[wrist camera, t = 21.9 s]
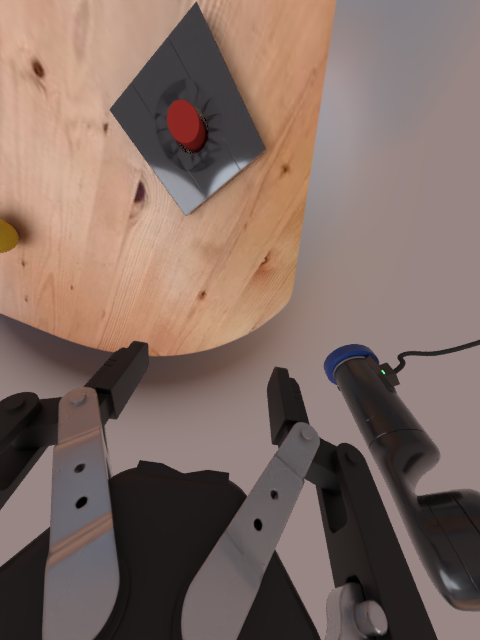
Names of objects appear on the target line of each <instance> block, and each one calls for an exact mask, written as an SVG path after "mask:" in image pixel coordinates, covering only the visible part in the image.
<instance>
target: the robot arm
mask: <svg viewBox="0 0 480 640" xmlns="http://www.w3.org/2000/svg"><path fill="white" fill-rule="evenodd" d="M477 345H480V340H478V341H475V342H471V343H468V344H465V345H461V346H458V347H454V348H450V349H445V350H441V351H433V352H420V351H409V352H403V353H401V354H399V355H398V360H399V361H400V364H399V365H398V366H397V367H396V368H395V369H394V370H393V369H392V368H391V367H390V366H389V364H388V363H384V364H382V365H379V366H378V365H377V364H376V363H375V362H374V360H373V359H372V358H371V356H370V355H369V354H366V355H353V356H349V357H346V358H344V359H342V360H340V361H339V362H338V363H337V364H336V365H335V366H334V368H333V371H332V374H333V377H334V379H335V381H336V383H337V385H338V386H339V387H338V386H337V387H338V389H339V390H340V391H341V393H342V395H343V397H344V399H345V401H346V403H347V405H348V407H349V409H350V411H351V413H352V415H353V417H354V419H355V422H356V423H357V426H358V428H359V430H360V432H361V434H362V436H363V438H364V440H365V442H366V444H367V446H368V448H369V450H370V452H371V454H372V456H373V458H374V460H375V462H376V464H377V466H378V468H379V470H380V472H381V474H382V476H383V478H384V480H385V482H386V484H387V487H388V489H389V491H390V493H391V495H392V498H393V500H394V502H395V504H396V506H397V509H398V511H399V513H400V516H401V518H402V520H403V523H404V525H405V527H406V530H407V532H408V534H409V537H410V539H411V541H412V543H413V546H414V548H415V550H416V552H417V554H418V556H419V559H420V560H421V563H422V565H423V566H424V568H425V570H426V572H427V574H428V576H429V578H430V579H431V581H432V583H433V584H434V586H435V587H436V589H437V590H438V592H439V593H440V594H441V596H442V597H443V598H444V599H445V600H446V601H447V602H448V603H449V604H450V605H451V606H452V607H454V608H455V609H458V610H462V611H480V492H477V491H476V490H472V489H457V490H450V491H447V492H446V491H444V492H438V493H432V494H426V495H422V496H417V495H416V494H415V488H416V485H417V483H418V482H419V480H420V479H421V478H422V476H423V475H425V474H426V473H427V472H428V471H430V470H431V469H432V468H433V467H435V466H436V464H437V463H438V462H439V460H440V452H439V449H438V448H437V446H436V445H435V443H434V442H433V441H432V439H431V438H430V437H429V435H428V434H427V433H426V432H425V430H424V429H423V428H422V426H421V425H420V424H419V423H418V421H417V420H416V418H415V417H414V416H413V415H412V413H411V412H410V411H409V409H408V408H407V407H406V405H405V404H404V403H403V402H402V400H401V399H400V397H399V396H398V395H397V392H396V390H395V388H394V386H396V385H399V384H400V383H399V381H398V378H397V375H396V374H397V373H398V372H399V371H401V370H402V369H403V368H404V366H405V360H404V359H403V357H405V356H409V355H419V356H436V355H442V354H447V353H452V352H456V351H460V350H464V349H467V348H470V347H473V346H477ZM148 364H149V354H148V343H145V342H139V341H133V342H132V343H131V344H130V346H129V347H128V348H121V349H119V350H118V351H116V352H114V353H113V354H112V356H111V357H110V358H109V359H108V360H107V361H106V362H105V363H104V365H103V366H102V367H101V368H100V369H99V370H98V371H97V372H96V374H95V375H94V376H93V377H92V378H91V379H90V380H89V381H88V383H86V385H85V386H84V387H81V388H77V389H75V390H72V391H70V392H68V393H67V394H66V395H64V396H63V397H58V398H49V399H39V398H38V396H37V395H36V394H35V393H32V392H22V393H17V394H14V395H11V396H9V397H7V398H5V399H3V400H2V401H0V510H1V508H2V507H3V506H4V504H5V503H6V502H7V500H8V499H9V498H10V496H11V495H12V494H13V493H14V491H15V490H16V488H17V487H18V486H19V485H20V483H21V482H22V481H23V479H24V478H25V476H26V475H27V474H28V472H29V471H30V470H31V469H32V467H33V466H34V465H35V463H36V462H37V461H38V459H39V458H40V457H41V455H42V454H43V453H44V451H45V450H46V448H47V447H48V446H51V445H55V446H54V450H53V469H52V496H51V520H50V527H49V528H48V529H47V530H45V531H44V532H43V533H42V534H40V535H39V536H38V537H37V538H36V539H34V540H33V541H32V542H31V543H29V544H28V545H27V546H26V547H24V548H23V549H22V550H21V551H19V552H18V553H17V554H16V555H14V556H13V557H12V558H11V559H10V560H8V561H7V562H6V563H5V564H3V565H2V566H1V567H0V640H321V639H320V636H319V634H318V632H317V629H316V627H315V626H314V623H313V622H312V619H311V617H310V616H309V614H308V612H307V610H306V608H305V606H304V604H303V602H302V600H301V598H300V596H299V594H298V593H297V590H296V589H295V587H294V585H293V583H292V581H291V579H290V577H289V575H288V573H287V571H286V569H285V567H284V565H283V563H282V562H281V560H280V558H279V556H278V554H277V552H276V550H275V548H276V546H277V543H278V541H279V539H280V537H281V534H282V532H283V530H284V528H285V525H286V523H287V521H288V518H289V516H290V514H291V512H292V510H293V507H294V505H295V503H296V501H297V499H298V496H299V494H300V492H301V490H302V487H303V485H304V479H306V480H308V481H310V482H311V483H313V484H315V485H316V489H317V495H318V500H319V505H320V511H321V516H322V521H323V527H324V531H325V537H326V542H327V548H328V553H329V559H330V564H331V569H332V574H333V580H334V585H335V589H333V590H332V591H331V592H330V593H329V596H328V599H327V604H326V613H327V631H326V636H325V640H438V639H437V637H436V634H435V632H434V629H433V627H432V624H431V622H430V619H429V617H428V614H427V612H426V609H425V607H424V604H423V602H422V599H421V597H420V594H419V592H418V590H417V587H416V584H415V582H414V580H413V577H412V574H411V572H410V569H409V567H408V564H407V562H406V559H405V557H404V554H403V552H402V550H401V547H400V544H399V542H398V539H397V537H396V535H395V532H394V530H393V527H392V525H391V522H390V520H389V518H388V515H387V512H386V510H385V507H384V505H383V502H382V500H381V497H380V495H379V492H378V490H377V487H376V485H375V482H374V480H373V477H372V475H371V473H370V470H369V467H368V465H367V463H366V460H365V458H364V457H363V455H362V454H361V452H360V451H359V450H358V449H357V448H355V447H354V446H352V445H350V444H348V443H341V444H339V445H338V446H335V445H333V444H331V443H329V442H327V441H324V440H323V439H321V438H320V437H319V436H318V434H317V432H316V431H315V430H314V428H313V427H311V426H310V424H309V421H308V417H307V413H306V410H305V406H304V402H303V400H302V399H303V398H302V395H301V391H300V387H299V385H298V383H297V382H296V380H295V379H294V378H289V374H288V370H287V369H286V368H280V367H275V368H274V370H273V372H272V375H271V377H270V380H269V382H268V387H267V397H268V408H269V418H270V429H271V439H272V444H273V445H278V448H279V449H278V451H277V452H276V454H275V455H274V456H273V458H272V459H271V461H270V462H269V464H268V465H267V467H266V468H265V470H264V472H263V473H262V475H261V476H260V478H259V479H258V481H257V482H256V484H255V485H254V487H253V489H252V490H251V492H250V493H249V495H248V496H247V495H246V494H245V493H244V492H243V490H242V489H241V488H240V487H238V486H237V485H236V484H234V483H233V482H232V481H230V480H229V473H226V472H219V471H212V470H204V471H197V472H191V473H185V474H184V473H181V472H178V471H177V470H175V469H173V468H171V467H168V466H167V465H164V464H162V463H156V462H149V461H141V460H140V461H139V464H138V466H137V467H136V468H132V469H128V470H125V471H123V472H120V473H119V474H117V475H115V476H113V474H112V469H111V464H110V459H109V452H108V445H107V438H106V432H105V424H106V422H107V421H108V419H117V418H118V417H119V415H120V413H121V412H122V410H123V408H124V407H125V405H126V403H127V402H128V400H129V398H130V397H131V395H132V393H133V392H134V390H135V388H136V387H137V385H138V384H139V382H140V380H141V379H142V377H143V375H144V374H145V372H146V370H147V367H148Z"/></svg>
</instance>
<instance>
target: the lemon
mask: <svg viewBox="0 0 480 640" xmlns="http://www.w3.org/2000/svg"><path fill="white" fill-rule="evenodd" d="M18 240H19V239H18V234H17V232H16V230H15V229H14V228H13V227H12V226H11V225H10V224H9V223H7V222H6V221H4V220H2V219H0V253H4V252H7V251H10V250H11V249H13V248H14V247H16V245H17V244H18Z"/></svg>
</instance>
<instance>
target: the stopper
mask: <svg viewBox="0 0 480 640" xmlns="http://www.w3.org/2000/svg"><path fill="white" fill-rule="evenodd" d="M167 123H168V128H169V130H170V132H171V134H172V136H173V137H174V138H175V139H176V140H177V141H178V142H180V143H181V144H182V145H183V146H185V147H186V148H187V149H188V150H190V151H191V152H194V153H198V152H200V151H201V150H202V149H203V148H204V147H205V144H206V142H207V140H208V134H207V130H206V127H205V125H204V123H203V122H202V120H201V118H200V117H199V115H198V113H197V112H196V110H195V108H194V107H193V106H192V105H191V104H190V103H189V102H188V101H185V100H177V101H175V102H173V103H172V104H171V106H170V107H169V110H168V114H167Z"/></svg>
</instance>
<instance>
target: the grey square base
mask: <svg viewBox="0 0 480 640" xmlns="http://www.w3.org/2000/svg"><path fill="white" fill-rule="evenodd" d="M177 100H185V101H188V102H189V103H190V104H191V105H192V106H193V107H194V108H195V110H196V112H197V113H200V114H201V115H202V116H203V117H204V118H205V119H206V121H207V125H208V140H207V142H206V144H205V147H204V148H203V149H202V150H201V151H200V152H198V153H194V154H191V153H187V152H185V151H184V150H183V149H182V147H181V145H180V144H179V142H178V141H177V140H176V139H175V138H174V137H173V136H172V134H171V132H170V130H169V128H168V123H167V114H168V110H169V107H170V106H171V104H172V103H173V102H175V101H177ZM110 111H111V113H112V114H113V115H114V117H115V118H116V120H117V121H118V122H119V124H120V125H121V127H122V128H123V129H124V131H125V132H126V133H127V135H128V136H129V138H130V139H131V140H132V142H133V143H134V145H135V146H136V147H137V149H138V150H139V152H140V153H141V154H142V156H143V157H144V159H145V160H146V161H147V163H148V164H149V166H150V167H151V168H152V170H153V171H154V173H155V174H156V175H157V177H158V178H159V179H160V181H161V182H162V184H163V185H164V186H165V188H166V189H167V191H168V192H169V193H170V195H171V196H172V198H173V199H174V200H175V202H176V203H177V205H178V206H179V207H180V209H181V210H182V212H183V213H184V214H185V216H187V215H190V214H191V213H192V212H193V211H195V210H196V209H197V208H198V207H200V206H201V205H202V204H203V203H204V202H206V201H207V200H208V199H209V198H210V197H212V196H213V195H214V194H215V193H216V192H218V191H219V190H220V189H221V188H222V187H224V186H225V185H226V184H227V183H229V182H230V181H231V180H232V179H233V178H235V177H236V176H237V175H238V174H239V173H240V172H242V171H243V170H244V169H245V168H247V167H248V166H249V165H250V164H251V163H253V162H254V161H255V160H256V159H258V158H259V157H260V156H261V155H262V154H264V152H265V150H266V149H265V147H264V145H263V142H262V140H261V138H260V136H259V134H258V132H257V130H256V127H255V125H254V123H253V121H252V119H251V117H250V115H249V113H248V110H247V108H246V106H245V104H244V102H243V100H242V98H241V95H240V93H239V91H238V89H237V87H236V85H235V83H234V80H233V78H232V76H231V74H230V72H229V70H228V68H227V65H226V63H225V61H224V59H223V57H222V55H221V53H220V50H219V48H218V46H217V44H216V42H215V40H214V38H213V35H212V33H211V31H210V29H209V27H208V25H207V23H206V20H205V18H204V16H203V14H202V12H201V10H200V8H199V6H198V3H197V2H195V4H194V5H193V6H192V7H191V9H190V10H189V11H188V12H187V14H186V15H185V16H184V17H183V19H182V20H181V21H180V22H179V24H178V25H177V26H176V27H175V29H174V30H173V31H172V32H171V34H170V35H169V36H168V37H167V39H166V40H165V41H164V42H163V44H162V45H161V46H160V47H159V49H158V50H157V51H156V52H155V54H154V55H153V56H152V57H151V59H150V60H149V61H148V62H147V64H146V65H145V66H144V67H143V68H142V70H141V71H140V72H139V73H138V75H137V76H136V77H135V78H134V80H133V81H132V82H131V83H130V85H129V86H128V87H127V88H126V90H125V91H124V92H123V93H122V95H121V96H120V97H119V98H118V100H117V101H116V102H115V103H114V105H113V106H112V107H111V108H110Z"/></svg>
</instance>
